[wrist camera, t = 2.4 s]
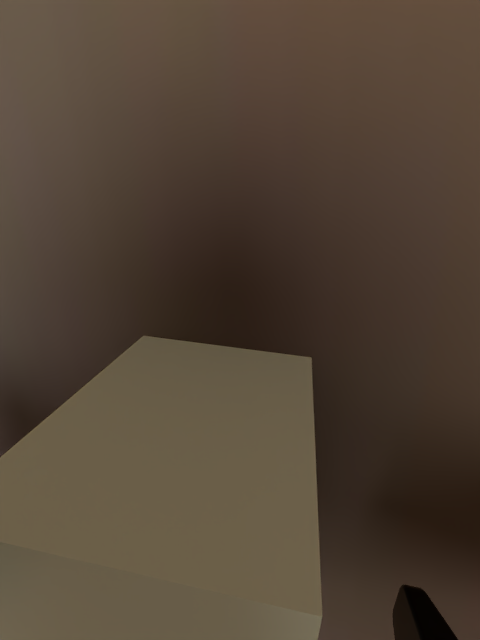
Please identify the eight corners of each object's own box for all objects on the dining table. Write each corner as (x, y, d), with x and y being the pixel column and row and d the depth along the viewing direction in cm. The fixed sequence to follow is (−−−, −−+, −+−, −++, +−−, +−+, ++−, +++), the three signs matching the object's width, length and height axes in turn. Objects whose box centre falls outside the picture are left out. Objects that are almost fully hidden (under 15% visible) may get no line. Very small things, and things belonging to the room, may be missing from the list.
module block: (311, 356, 9) (323, 616, 3) (279, 573, 12) (256, 919, 6) (145, 334, 10) (-78, 523, 4) (151, 545, 12) (23, 835, 7)
